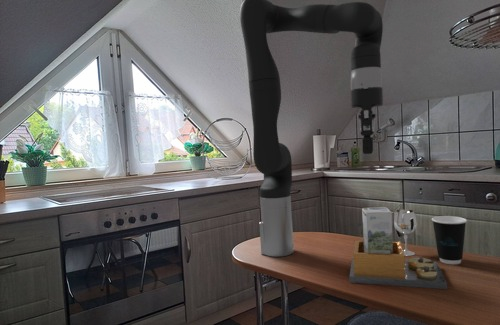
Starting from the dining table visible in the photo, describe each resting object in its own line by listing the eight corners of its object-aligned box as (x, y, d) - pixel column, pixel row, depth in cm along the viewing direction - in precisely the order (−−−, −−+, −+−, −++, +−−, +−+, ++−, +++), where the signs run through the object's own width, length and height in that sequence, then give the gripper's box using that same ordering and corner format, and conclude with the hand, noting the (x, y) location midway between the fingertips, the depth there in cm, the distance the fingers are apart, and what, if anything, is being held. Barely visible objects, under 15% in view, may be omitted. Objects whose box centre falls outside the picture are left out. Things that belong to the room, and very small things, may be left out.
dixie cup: (444, 267, 87) (442, 223, 87) (426, 257, 95) (425, 216, 95) (475, 265, 88) (474, 221, 87) (455, 255, 96) (454, 214, 95)
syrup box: (387, 263, 88) (385, 206, 87) (394, 272, 82) (391, 210, 82) (364, 264, 89) (361, 206, 88) (368, 272, 83) (366, 211, 82)
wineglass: (416, 257, 96) (414, 213, 95) (393, 255, 99) (391, 212, 98) (418, 251, 100) (417, 209, 100) (397, 249, 103) (395, 208, 103)
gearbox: (349, 282, 82) (348, 254, 82) (352, 263, 94) (351, 239, 94) (447, 289, 75) (446, 259, 75) (436, 267, 88) (435, 241, 87)
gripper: (352, 92, 96) (354, 152, 97) (348, 85, 83) (350, 154, 84) (382, 90, 94) (383, 151, 95) (382, 82, 81) (384, 153, 82)
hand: (368, 152), depth 89 cm, fingers open, 8 cm apart
